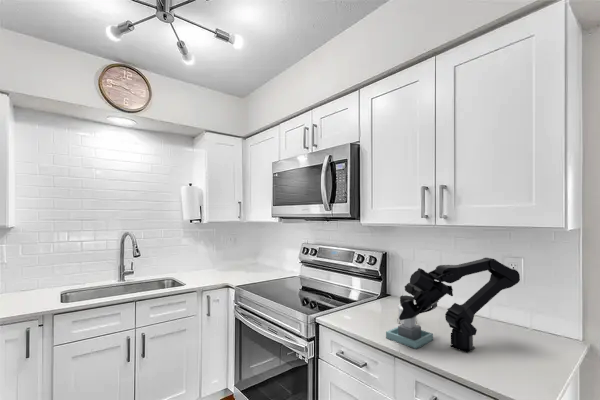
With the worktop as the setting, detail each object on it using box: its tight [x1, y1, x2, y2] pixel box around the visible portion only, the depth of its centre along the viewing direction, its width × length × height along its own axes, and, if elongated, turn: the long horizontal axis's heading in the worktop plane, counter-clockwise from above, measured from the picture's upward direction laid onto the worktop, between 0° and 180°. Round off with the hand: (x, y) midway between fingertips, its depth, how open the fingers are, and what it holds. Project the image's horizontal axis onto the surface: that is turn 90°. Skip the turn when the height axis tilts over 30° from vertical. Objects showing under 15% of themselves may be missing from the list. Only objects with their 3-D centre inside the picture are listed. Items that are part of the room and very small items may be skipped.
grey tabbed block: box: [397, 317, 422, 341], centre depth 122 cm, size 6×7×9 cm
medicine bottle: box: [397, 294, 417, 325], centre depth 141 cm, size 7×7×12 cm
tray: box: [385, 326, 434, 350], centre depth 122 cm, size 13×13×2 cm
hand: (406, 316), depth 123 cm, fingers open, 9 cm apart
